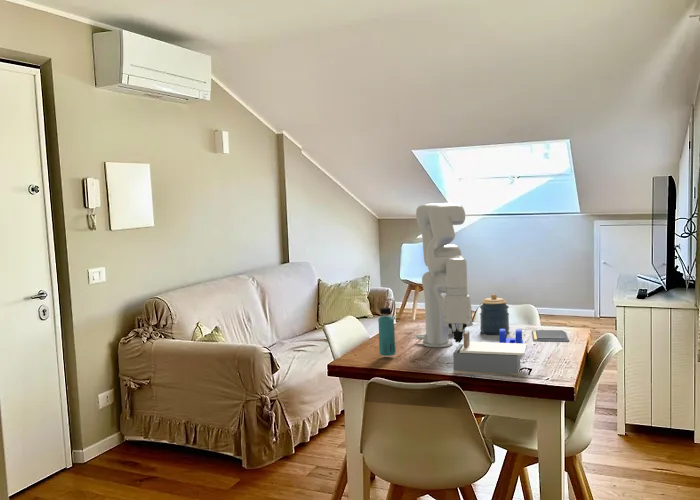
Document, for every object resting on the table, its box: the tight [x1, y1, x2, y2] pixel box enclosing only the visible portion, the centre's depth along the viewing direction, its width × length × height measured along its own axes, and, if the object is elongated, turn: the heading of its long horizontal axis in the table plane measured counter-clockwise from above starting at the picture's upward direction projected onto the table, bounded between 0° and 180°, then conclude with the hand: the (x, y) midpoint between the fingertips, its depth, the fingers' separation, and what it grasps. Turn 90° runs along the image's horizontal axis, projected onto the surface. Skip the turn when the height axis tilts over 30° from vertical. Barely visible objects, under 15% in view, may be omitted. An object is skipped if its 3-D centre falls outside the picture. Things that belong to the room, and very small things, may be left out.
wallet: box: [531, 329, 570, 343], centre depth 263 cm, size 20×2×15 cm
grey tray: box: [452, 343, 521, 377], centre depth 217 cm, size 22×14×7 cm, turn 70°
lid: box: [460, 330, 528, 356], centre depth 216 cm, size 22×14×6 cm, turn 70°
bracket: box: [498, 328, 524, 344], centre depth 246 cm, size 18×8×9 cm, turn 161°
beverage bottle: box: [377, 307, 396, 357], centre depth 238 cm, size 6×7×20 cm
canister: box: [479, 293, 510, 336], centre depth 276 cm, size 13×13×18 cm
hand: (458, 341), depth 220 cm, fingers closed
